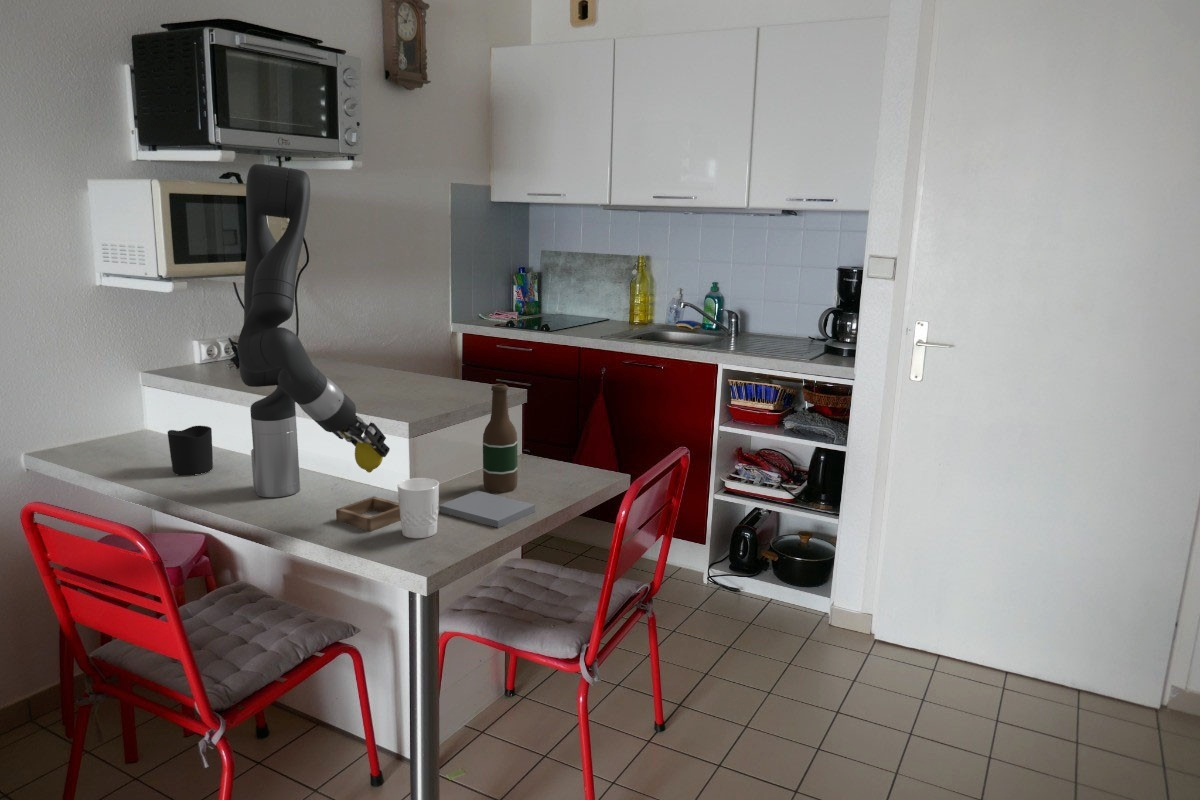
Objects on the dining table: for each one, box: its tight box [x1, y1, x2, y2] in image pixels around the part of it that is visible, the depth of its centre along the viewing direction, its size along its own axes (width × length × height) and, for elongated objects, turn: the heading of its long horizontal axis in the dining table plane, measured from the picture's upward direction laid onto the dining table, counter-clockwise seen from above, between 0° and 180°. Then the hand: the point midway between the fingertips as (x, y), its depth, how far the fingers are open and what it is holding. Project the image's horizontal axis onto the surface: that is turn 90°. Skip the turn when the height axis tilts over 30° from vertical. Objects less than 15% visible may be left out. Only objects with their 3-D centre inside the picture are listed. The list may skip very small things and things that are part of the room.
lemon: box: [354, 436, 384, 474], centre depth 176 cm, size 6×6×8 cm
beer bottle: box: [482, 383, 518, 494], centre depth 198 cm, size 8×8×24 cm
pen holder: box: [167, 425, 214, 476], centre depth 208 cm, size 9×9×10 cm
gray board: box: [438, 490, 536, 529], centre depth 185 cm, size 16×12×2 cm
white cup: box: [397, 477, 440, 539], centre depth 172 cm, size 8×8×10 cm
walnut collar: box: [335, 495, 401, 532], centre depth 179 cm, size 10×10×2 cm
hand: (375, 450), depth 178 cm, fingers closed on lemon, 5 cm apart
